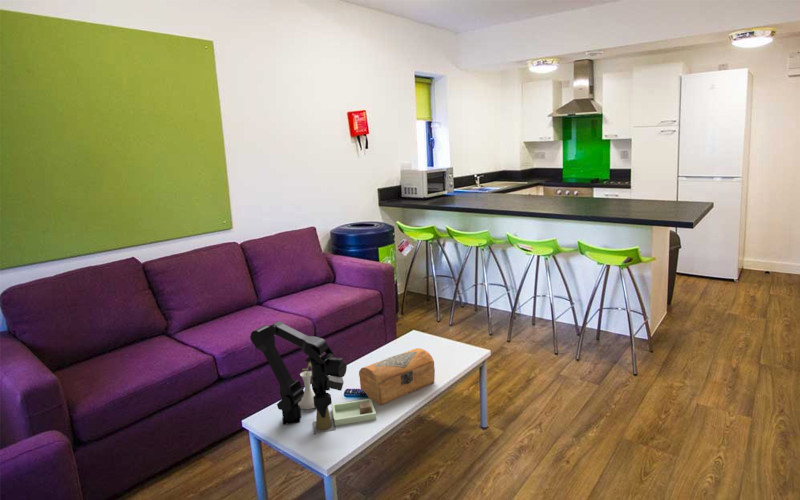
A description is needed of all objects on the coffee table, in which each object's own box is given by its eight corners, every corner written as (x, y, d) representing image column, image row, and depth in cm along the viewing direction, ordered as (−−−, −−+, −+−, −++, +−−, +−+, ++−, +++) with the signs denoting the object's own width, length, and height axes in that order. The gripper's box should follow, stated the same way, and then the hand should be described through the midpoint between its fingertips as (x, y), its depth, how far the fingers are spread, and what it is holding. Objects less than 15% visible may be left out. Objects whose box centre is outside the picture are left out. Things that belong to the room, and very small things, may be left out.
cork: (314, 423, 193) (311, 397, 190) (329, 419, 195) (327, 393, 192) (317, 431, 187) (315, 404, 185) (333, 427, 189) (331, 400, 187)
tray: (334, 426, 191) (334, 420, 190) (331, 410, 202) (331, 404, 202) (376, 419, 194) (376, 413, 194) (371, 404, 206) (370, 398, 205)
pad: (314, 434, 186) (314, 433, 186) (312, 422, 194) (312, 421, 194) (335, 430, 188) (335, 429, 188) (333, 419, 196) (333, 418, 196)
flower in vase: (307, 415, 200) (301, 356, 194) (289, 406, 207) (283, 349, 202) (331, 401, 209) (327, 345, 204) (314, 393, 217) (309, 339, 211)
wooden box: (381, 407, 203) (379, 376, 200) (359, 392, 216) (357, 362, 213) (437, 384, 220) (436, 354, 217) (414, 371, 233) (413, 343, 230)
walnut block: (361, 417, 195) (360, 408, 195) (359, 412, 199) (359, 403, 198) (371, 416, 196) (370, 406, 195) (369, 410, 200) (369, 401, 199)
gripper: (344, 380, 179) (347, 420, 182) (338, 359, 197) (341, 396, 200) (312, 385, 177) (316, 425, 180) (309, 363, 195) (313, 400, 198)
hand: (322, 411), depth 190 cm, fingers open, 9 cm apart
